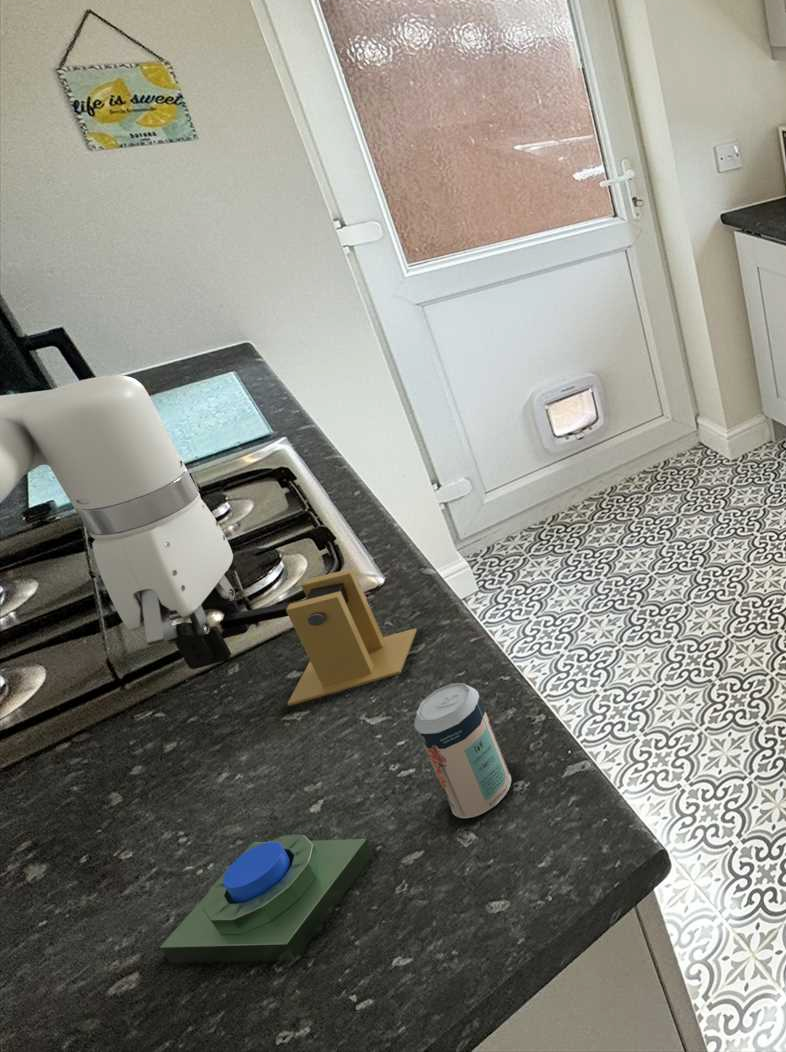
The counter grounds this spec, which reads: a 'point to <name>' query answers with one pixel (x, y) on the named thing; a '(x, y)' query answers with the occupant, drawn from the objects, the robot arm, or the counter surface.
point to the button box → (271, 907)
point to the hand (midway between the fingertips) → (220, 647)
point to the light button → (256, 871)
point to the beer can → (463, 749)
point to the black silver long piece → (263, 610)
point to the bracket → (343, 639)
